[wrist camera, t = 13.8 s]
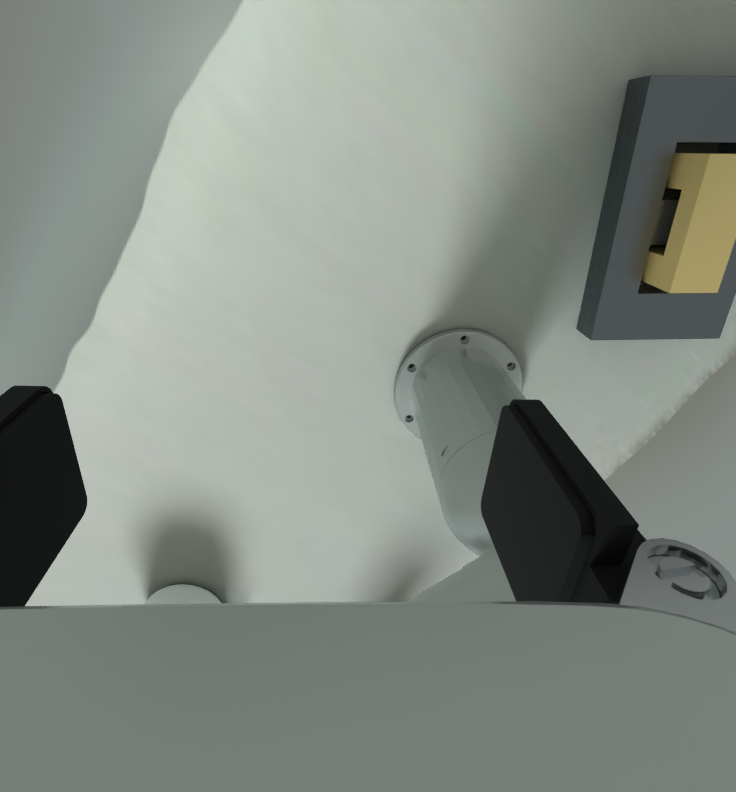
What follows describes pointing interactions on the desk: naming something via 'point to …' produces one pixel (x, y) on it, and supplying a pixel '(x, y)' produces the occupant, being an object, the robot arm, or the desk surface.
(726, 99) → the grey slotted board
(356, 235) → the desk surface
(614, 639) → the robot arm
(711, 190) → the yellow u-shaped block
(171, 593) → the mug
